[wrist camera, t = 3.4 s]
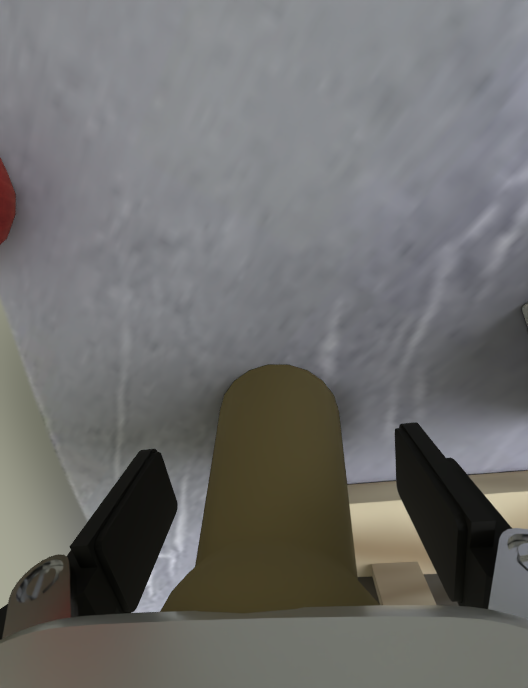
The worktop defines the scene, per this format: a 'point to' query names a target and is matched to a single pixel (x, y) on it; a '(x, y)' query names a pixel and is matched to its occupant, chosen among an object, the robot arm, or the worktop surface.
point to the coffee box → (525, 312)
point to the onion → (6, 203)
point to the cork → (275, 503)
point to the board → (415, 538)
